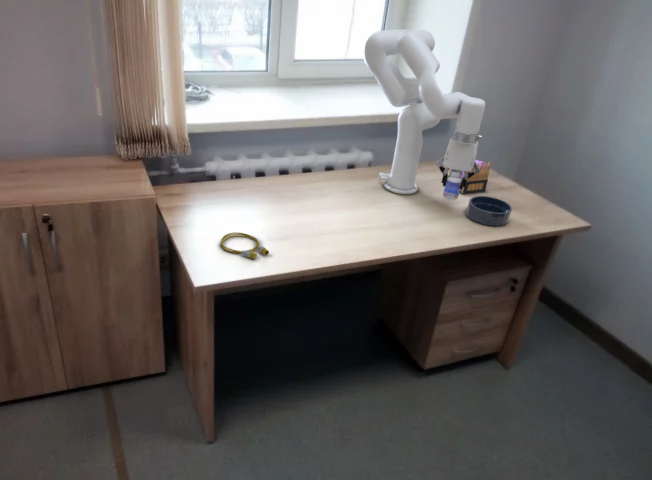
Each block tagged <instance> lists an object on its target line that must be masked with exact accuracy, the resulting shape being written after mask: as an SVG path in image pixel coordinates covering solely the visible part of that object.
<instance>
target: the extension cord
mask: <svg viewBox="0 0 652 480" xmlns="http://www.w3.org/2000/svg"><path fill="white" fill-rule="evenodd" d="M234 237H236V238H237V237H240V238H241V237H242V238H243V237H244V238H248V239H252V240H254V241H255V242H256V244H255V245H254V247H253V248H251V249H247V250H236V249H232V248H229V247H227V246H225V245H224V243H225V241H227V240H229V239H230V238H234ZM220 243H221V247H222V249H223V250H225V251H226V252H229V253H231V254H241V255H243V256H244V257H246V258H250V259H252V260H256V258H257V257H258V254H257V253H256V252H255V251H256V250H258V251H259V253H261V254H262V255H265V256H268V255H270V251H269V250H268V249H267V248H266V247H264V246H262V245H260V241H259V240H258V239H257V237H254V235H251V234H248V233H244V232H230V233H226V234H224V235H223V237H222V238H221V241H220Z"/></svg>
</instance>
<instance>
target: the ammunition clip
mask: <svg viewBox="0 0 652 480" xmlns="http://www.w3.org/2000/svg"><path fill="white" fill-rule="evenodd" d="M483 162H484V161H483ZM483 162H482V163H481V165H480V167H479V163H478V164H477V165H478V167H479V168H480V172H479V173H477V174H475V175H473V176H472V177H470V178H468V179H467V182H466V185H465V187H463V189H462V190H461V189H460V192H459V194H460V193H461V194H462V195H469V194H477V193H485V192H486V190H487V185H488V181H489V179H488V178H489V175H490V169H491V166H492V165H491V164H492V163H491V161H489V162H487V161H486V162H484V163H485V164H484V166H483ZM474 170H475V169H474V167H473V169H472V171H474ZM470 172H471V171H469V173H470Z"/></svg>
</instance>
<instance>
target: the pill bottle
mask: <svg viewBox="0 0 652 480" xmlns="http://www.w3.org/2000/svg"><path fill="white" fill-rule="evenodd" d="M461 176H462V171H460V170H455V169H450V170H449V174H448V176H447V179H446V184H445V186H444V188H443V193H442V197H443V198H444V199H447V200H452V201H453V200H457V199H458V198H459V197H460V196H459V195H460V190H461V189H460V187H461V184H462V178H461Z"/></svg>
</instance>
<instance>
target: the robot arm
mask: <svg viewBox="0 0 652 480" xmlns="http://www.w3.org/2000/svg"><path fill="white" fill-rule="evenodd" d="M435 41H436V40H435V38H434V35H433V34H432V32H430V31H428V30H426V29H400V28H398V29H397V28H396V29H385V30H379V31H374V32H373V33H371V34H370V35H368V37H367V38H366V39H365V41H364V43H363V52H362V54H363V61H364V64H365V65H366V67H367V69H368V71H369V72H370V74H371V75H372V76H373V77H374V79H375V80H376V83H377V84H378V86H379V87H380V89H381V90H382V93H383V94H384V96H385V97H386V99H387V100H388V102H389V104H391V106H392V107H394V108H403V109H402V110H401V111H400V113H399V114H398V117H397V134H396V135H397V136H396V142H395V149H394V154H393V159H392V164H391V171H390V173H384V172H379V174H378V178H379V179H380V180H381V181H384V188H385V189H386V190H388V191H389V192H392V193H394V194H399V195H412V194H416V192H417V191H418V185H417V184H416V183H415V182H416V177H417V172H418V168H419V164H420V159H421V154H422V150H423V144H424V143H423V142H424V139H423V131H425V130H429V129H431V128H432V129H433V128H434V127H436V126H437V125H439V123H440V122H441V120H442V119H443V120H444V119H448V118H451V117H457V120H456V123H455V128H454V133H453V136H452V137H451V138H450V139H449V142H448V144H447V147H446V151H445V154H444V156H442V157H440V158H439V159H438V160H437V161H436V162H435V165H436V166H437V168H438V169H439V171H440V172H441V174H442V179H441V184H442V187H445V184H446V179H447V177H448V176H449V173H448V172H450V170H452V169H455V170H460V171H464V177H463V180H462V184H461V187H460V190H462V189H463V187H465V185H466V182H467V179H468V178H470V177H472V176H473V175H475V174H477V173H479V172H480V168H479V167H478V165H477V163H476V162H475V160H477V154H478V150H479V149H478V148H479V140H480V141H482V138H483V135H480V133H479V132H480V128H481V125H482V120H483V118H484V117H483V116H484V114H485V113H484V112H485V109H486V101H485V100H484V99H482V98H479V97H472V96H470V95H468V94H466V93H463V92H461V91H455V92H448V93H444V92H443V91H442V89H441V88H440V86H439V85H438V83H437V81H436V74H437V73H438V71H439V70H440V67H441V63H440V60H439V59H437V57H436V56H435V54H434V53H433V51H434V49H435V44H436V42H435ZM399 55H400V56H401V57H402V59H403V60H404V62H405V63H406V65H407V66H408V68H409V70H411V72H412V74H413V75H414V76H415V77H413V76H412V77H405V76H404V75H403V73H402V72H401V71H400V69H399V67H398V66H397V64H396V63H395V62H394V61H392V60H391V59H390V58H389V57H391V56H399ZM473 167H474V169H475V170H474V171H472V169H473ZM469 171H471V172H470V173H469Z"/></svg>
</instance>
